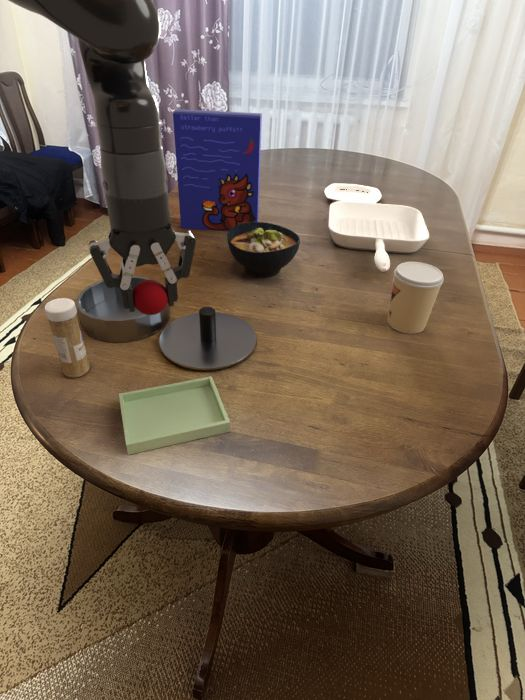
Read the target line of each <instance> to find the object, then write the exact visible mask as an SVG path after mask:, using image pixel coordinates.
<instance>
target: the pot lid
mask: <svg viewBox="0 0 525 700" xmlns="http://www.w3.org/2000/svg"><path fill="white" fill-rule="evenodd" d="M158 343H159V344H158V345H159V349H160V351H161V353H162V354H163V356H164V357H165V358H166V359H168V360H169V361H170V362H171V363H174V364H175V365H178V366H180V367H183V368H186V369H190V370H198V371H215V370H222V369H226V368H230V367H233V366H235V365H237V364H240V363H241V362H243V361H244V360H246V359H247V358H249V357H250V355H252V353H253V352H254V350H255V348H256V346H257V333H256V331H255V329H254V328H253V327H252V325H250V324H249V322H247V321H246V320H244V319H242V318H241V317H239V316H235V315H232V314H229V313H226V312H217V311H216V309H215V308H214V307H212V306H203V307H201V308H199V309H198V312H196V313H190V314H186V315H183V316H181V317H179V318H177V319H174V320H173V321H171V322H170V323H169V324H168V325H165V326H164V328H163V329H162V330H161V332H160V335H159V339H158Z"/></svg>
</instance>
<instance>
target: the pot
mask: <svg viewBox="0 0 525 700" xmlns="http://www.w3.org/2000/svg"><path fill="white" fill-rule="evenodd" d="M144 280H154V279H153V278H150V277H145V276H140V275H133V276H132V279H131V282H130V285H131V288H132V292H133V290H134V288H135V286H136V285H137V284H138V283H140V282H141V281H144ZM75 303H76V310H77V314H78V319H79V322H80V326H81V327H82V330H83V331H84V332H85V334H86V335H88V336H89V337H91V338H93V339H95V340H98V341H101V342H105V343H116V344H117V343H118V344H120V343H121V344H122V343H131V342H135V341H140V340H144V339H147V338H149V337H152V336H153V335H156V334H157V333H159V332H160V331H162V330H163V329H164V328H165V327H166V326H167V324H168V322H169V320H170V314H171V310H170V309H171V308H170V306H169V305H168V302H167V305H166V307H165V308H164V309H163V310H162V311H161V312H160V313H158V314H155V315H146V314H143V313H141V312H140V311H138V310H137V309H136V308H135V306H134V308H135V312H130V310H129V309H125V307H124V305H123V301H122V295H121V290H120V288H118V287H112V288H108V287H107V286H106V284H105V282H104V280H103V279H101V280H98V281H96V282H94V283H92V284H90V285H88V286H87V287H84V289H82V290H81V291H80V293H79V294H78V296H77V297H76V302H75Z"/></svg>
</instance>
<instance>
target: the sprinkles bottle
mask: <svg viewBox="0 0 525 700" xmlns="http://www.w3.org/2000/svg"><path fill="white" fill-rule="evenodd" d="M44 313H45V317H46V319H47V320H48V322H49V325H50V329H51V333H52V335H51V336H52V338H53V341H54V345H55V348H56V352H57V354H58V358H59V360H60V363H61V367H62V373H63V374H64V376H66V377H68V378H79V377H82V376H84V375H87V373H89V371H90V369H91V365H90V363H89V360H88V356H87V350H86V346H85V343H84V338H83V334H82V331H81V328H80V323H79V320H78V316H77V314H78V310H77V305H76V302H75V301H74V300H73V299H71V298H67V297H59V298H56V299H51V300H50V301H48V302H47V303H46V304H45V305H44Z"/></svg>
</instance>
